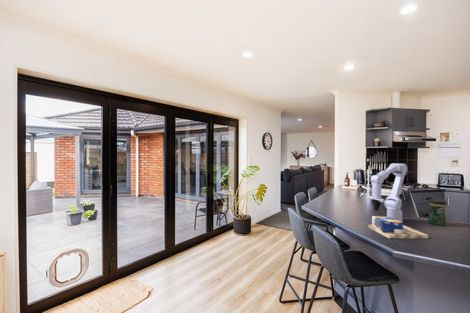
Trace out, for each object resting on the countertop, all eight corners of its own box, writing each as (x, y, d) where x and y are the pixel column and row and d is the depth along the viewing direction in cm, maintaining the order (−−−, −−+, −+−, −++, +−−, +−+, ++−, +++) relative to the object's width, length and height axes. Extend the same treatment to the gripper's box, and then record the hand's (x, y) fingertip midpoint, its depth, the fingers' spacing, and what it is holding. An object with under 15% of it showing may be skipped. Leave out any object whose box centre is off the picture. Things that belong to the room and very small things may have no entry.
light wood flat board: (402, 227, 166) (402, 224, 166) (428, 238, 145) (428, 235, 145) (368, 227, 165) (368, 224, 165) (389, 238, 144) (389, 235, 144)
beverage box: (389, 227, 167) (403, 233, 146) (371, 225, 170) (382, 232, 148) (389, 217, 167) (402, 222, 146) (371, 215, 170) (382, 221, 149)
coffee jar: (432, 225, 171) (433, 199, 171) (426, 222, 179) (426, 197, 179) (448, 226, 169) (448, 200, 169) (440, 223, 177) (441, 198, 177)
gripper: (365, 190, 183) (365, 208, 183) (377, 193, 168) (377, 212, 168) (374, 190, 183) (374, 208, 183) (387, 193, 168) (387, 212, 169)
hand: (376, 210), depth 176 cm, fingers closed
